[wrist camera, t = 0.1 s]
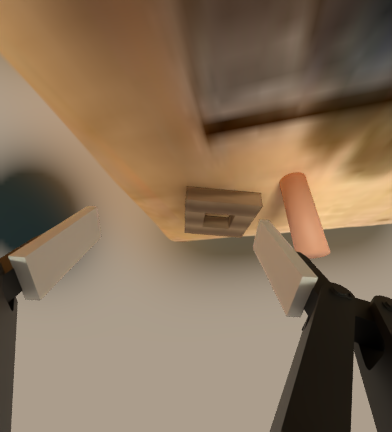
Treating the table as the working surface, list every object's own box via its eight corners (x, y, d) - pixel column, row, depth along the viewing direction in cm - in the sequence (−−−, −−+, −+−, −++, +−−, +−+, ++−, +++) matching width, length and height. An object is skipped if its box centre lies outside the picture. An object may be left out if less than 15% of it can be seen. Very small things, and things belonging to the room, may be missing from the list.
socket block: (187, 186, 34) (185, 199, 33) (260, 193, 34) (262, 206, 33) (185, 222, 46) (184, 232, 45) (240, 226, 46) (241, 237, 45)
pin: (286, 171, 29) (306, 247, 23) (310, 173, 29) (337, 250, 23) (275, 187, 33) (290, 257, 26) (297, 189, 33) (317, 259, 26)
